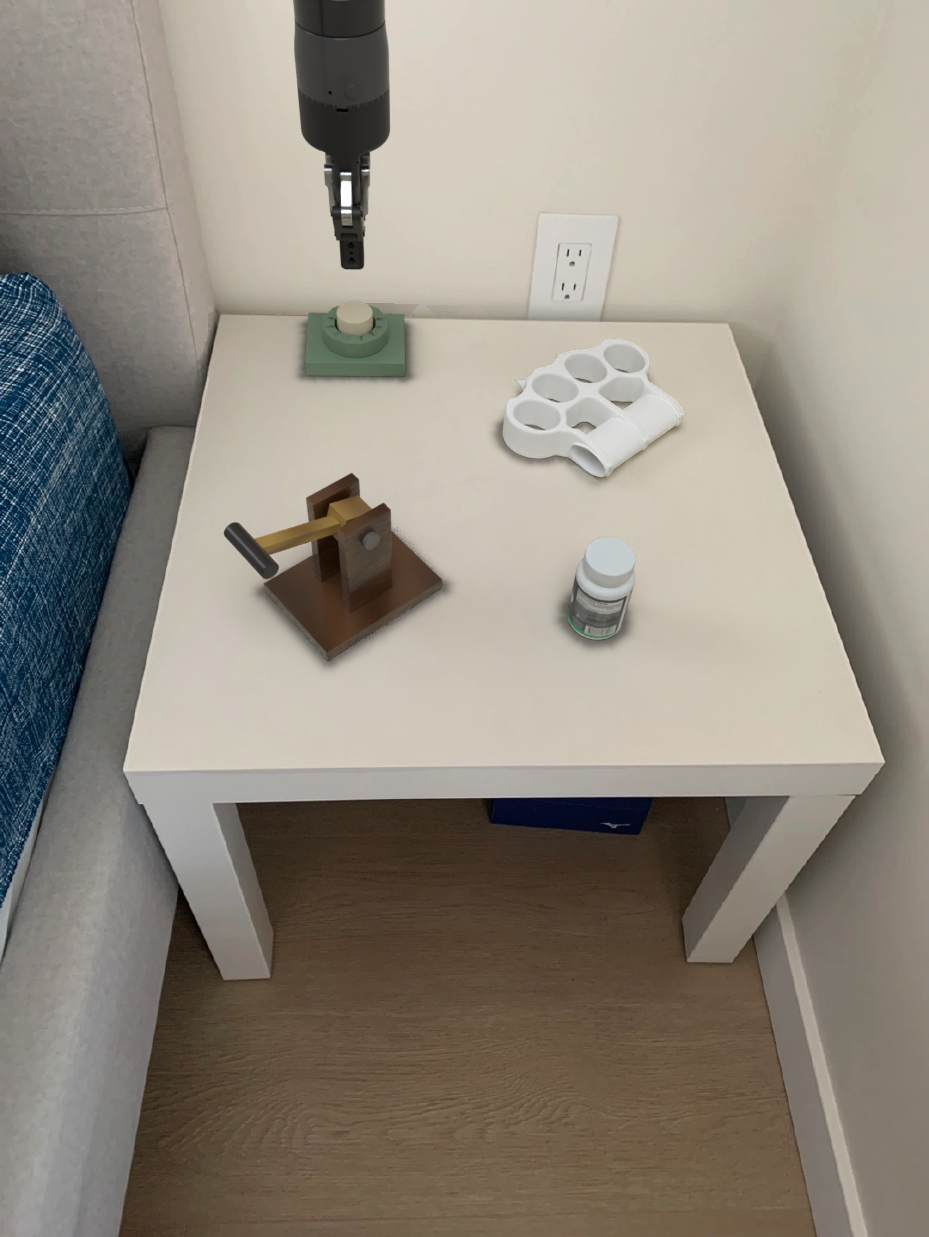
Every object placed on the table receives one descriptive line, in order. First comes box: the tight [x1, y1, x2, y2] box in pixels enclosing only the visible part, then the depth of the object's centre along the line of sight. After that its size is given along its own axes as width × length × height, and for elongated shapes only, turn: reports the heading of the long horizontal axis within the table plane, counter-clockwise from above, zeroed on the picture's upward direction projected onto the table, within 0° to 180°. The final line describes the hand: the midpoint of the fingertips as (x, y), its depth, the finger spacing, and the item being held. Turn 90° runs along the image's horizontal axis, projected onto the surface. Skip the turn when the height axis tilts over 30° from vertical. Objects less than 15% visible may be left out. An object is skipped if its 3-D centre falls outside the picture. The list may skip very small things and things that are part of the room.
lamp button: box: [336, 300, 373, 336], centre depth 98 cm, size 4×4×2 cm
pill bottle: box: [567, 536, 637, 641], centre depth 79 cm, size 5×5×8 cm
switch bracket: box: [263, 472, 443, 661], centre depth 79 cm, size 12×9×11 cm
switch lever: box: [223, 495, 373, 580], centre depth 73 cm, size 11×5×2 cm, turn 130°
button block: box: [304, 304, 406, 377], centre depth 100 cm, size 10×8×4 cm
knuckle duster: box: [502, 338, 685, 478], centre depth 96 cm, size 3×18×15 cm
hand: (352, 265), depth 93 cm, fingers closed
